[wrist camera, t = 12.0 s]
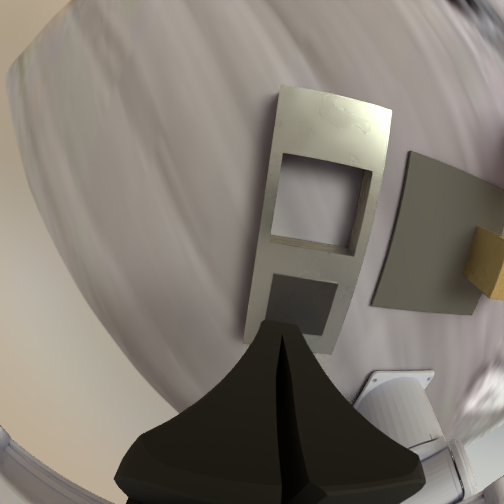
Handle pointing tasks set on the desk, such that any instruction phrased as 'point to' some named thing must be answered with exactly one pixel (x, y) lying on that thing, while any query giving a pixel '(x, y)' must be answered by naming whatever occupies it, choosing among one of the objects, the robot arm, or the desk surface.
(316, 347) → the grey plate with hole
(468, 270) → the brass rectangular block
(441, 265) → the mat
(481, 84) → the desk surface
